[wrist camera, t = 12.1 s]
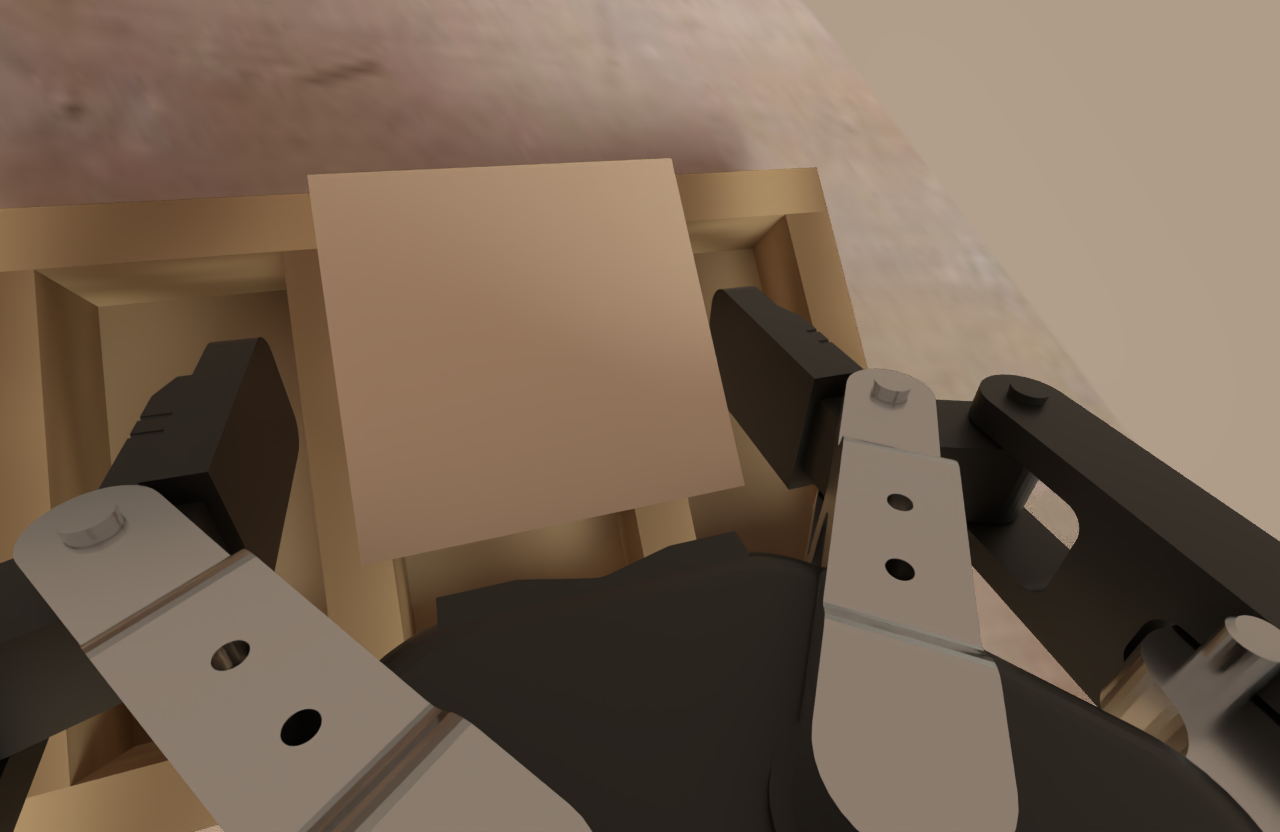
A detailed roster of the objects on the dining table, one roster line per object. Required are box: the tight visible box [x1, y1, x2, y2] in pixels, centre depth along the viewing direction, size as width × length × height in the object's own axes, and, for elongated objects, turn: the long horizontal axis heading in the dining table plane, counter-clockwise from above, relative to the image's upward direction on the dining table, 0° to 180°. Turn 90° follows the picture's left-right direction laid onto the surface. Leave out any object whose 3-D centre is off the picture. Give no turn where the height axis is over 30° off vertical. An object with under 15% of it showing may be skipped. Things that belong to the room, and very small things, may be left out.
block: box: [307, 158, 745, 566], centre depth 13 cm, size 4×4×11 cm
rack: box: [0, 167, 868, 832], centre depth 17 cm, size 22×14×3 cm, turn 101°
